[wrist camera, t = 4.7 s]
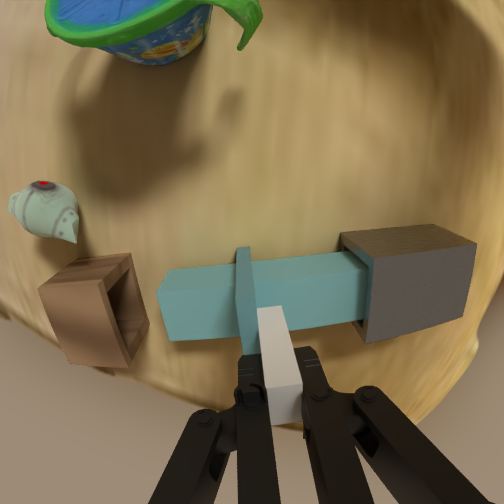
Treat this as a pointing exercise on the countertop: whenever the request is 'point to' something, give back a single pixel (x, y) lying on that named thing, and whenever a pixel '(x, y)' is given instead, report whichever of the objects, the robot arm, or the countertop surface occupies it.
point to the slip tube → (262, 295)
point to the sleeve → (411, 278)
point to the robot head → (46, 210)
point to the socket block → (96, 310)
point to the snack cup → (145, 25)
